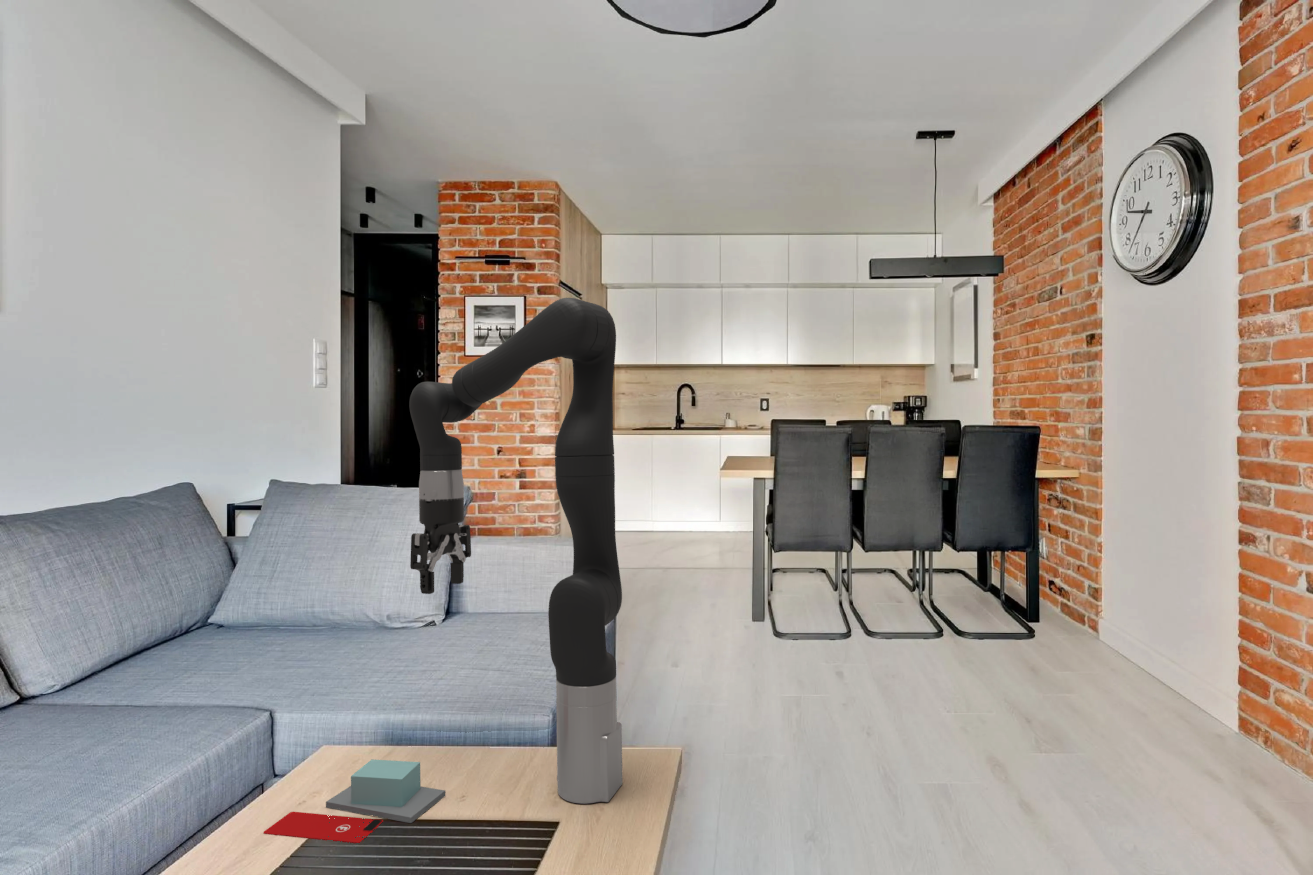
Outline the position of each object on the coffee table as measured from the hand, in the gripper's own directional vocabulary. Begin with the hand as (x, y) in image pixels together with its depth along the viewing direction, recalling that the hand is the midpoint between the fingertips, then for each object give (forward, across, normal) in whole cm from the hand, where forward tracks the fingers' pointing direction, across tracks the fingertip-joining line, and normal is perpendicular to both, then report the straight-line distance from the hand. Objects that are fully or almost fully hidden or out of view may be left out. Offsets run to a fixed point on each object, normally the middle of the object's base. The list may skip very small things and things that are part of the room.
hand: (442, 588), depth 123 cm
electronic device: (+29, +26, -1) cm, 39 cm away
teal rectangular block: (+27, +18, +2) cm, 33 cm away
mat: (+28, +18, +2) cm, 33 cm away
